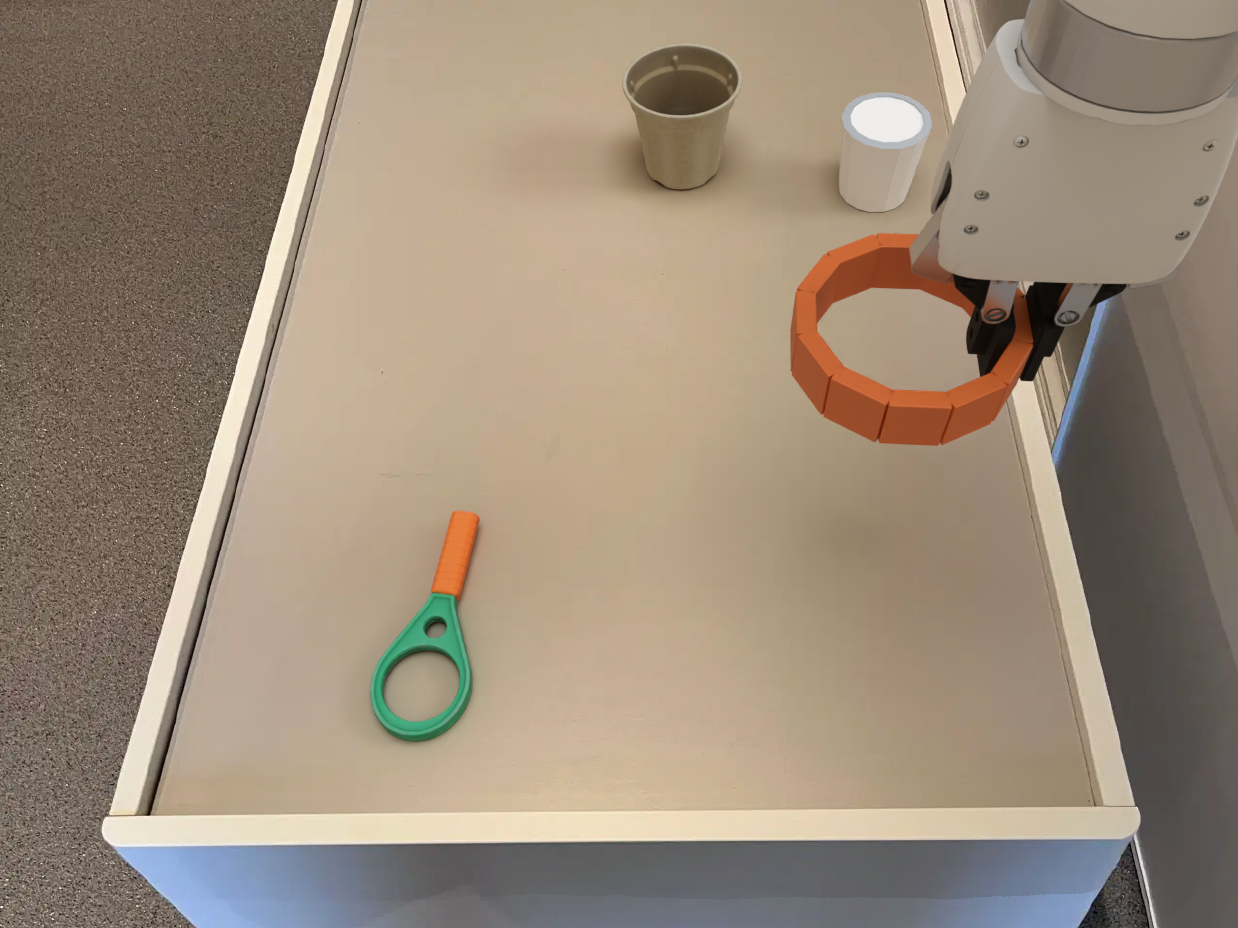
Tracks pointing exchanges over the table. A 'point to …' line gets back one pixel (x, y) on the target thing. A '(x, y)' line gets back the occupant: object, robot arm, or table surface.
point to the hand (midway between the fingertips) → (1002, 357)
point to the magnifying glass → (450, 643)
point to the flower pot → (682, 110)
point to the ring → (867, 400)
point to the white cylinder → (881, 149)
